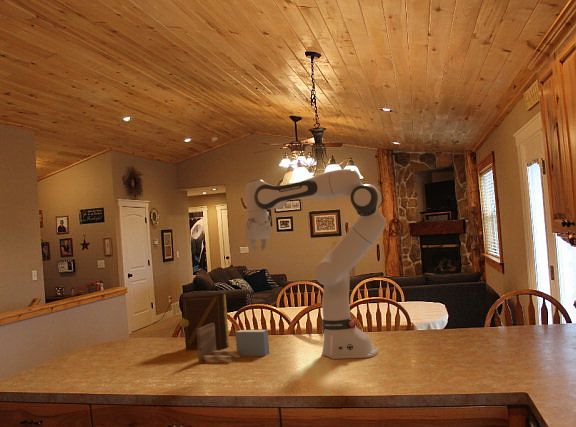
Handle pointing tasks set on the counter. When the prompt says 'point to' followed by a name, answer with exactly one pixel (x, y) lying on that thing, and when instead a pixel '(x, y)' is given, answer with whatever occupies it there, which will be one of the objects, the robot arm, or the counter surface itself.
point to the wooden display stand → (212, 347)
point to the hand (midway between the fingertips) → (259, 250)
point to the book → (205, 317)
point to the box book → (252, 342)
